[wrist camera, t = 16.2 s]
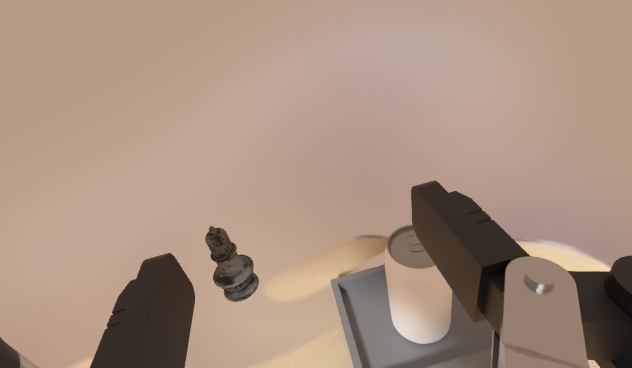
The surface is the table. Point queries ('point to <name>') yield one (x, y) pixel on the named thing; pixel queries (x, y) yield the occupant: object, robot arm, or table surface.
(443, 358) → the tray
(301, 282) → the table surface
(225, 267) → the salt shaker
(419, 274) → the can
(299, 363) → the table surface
